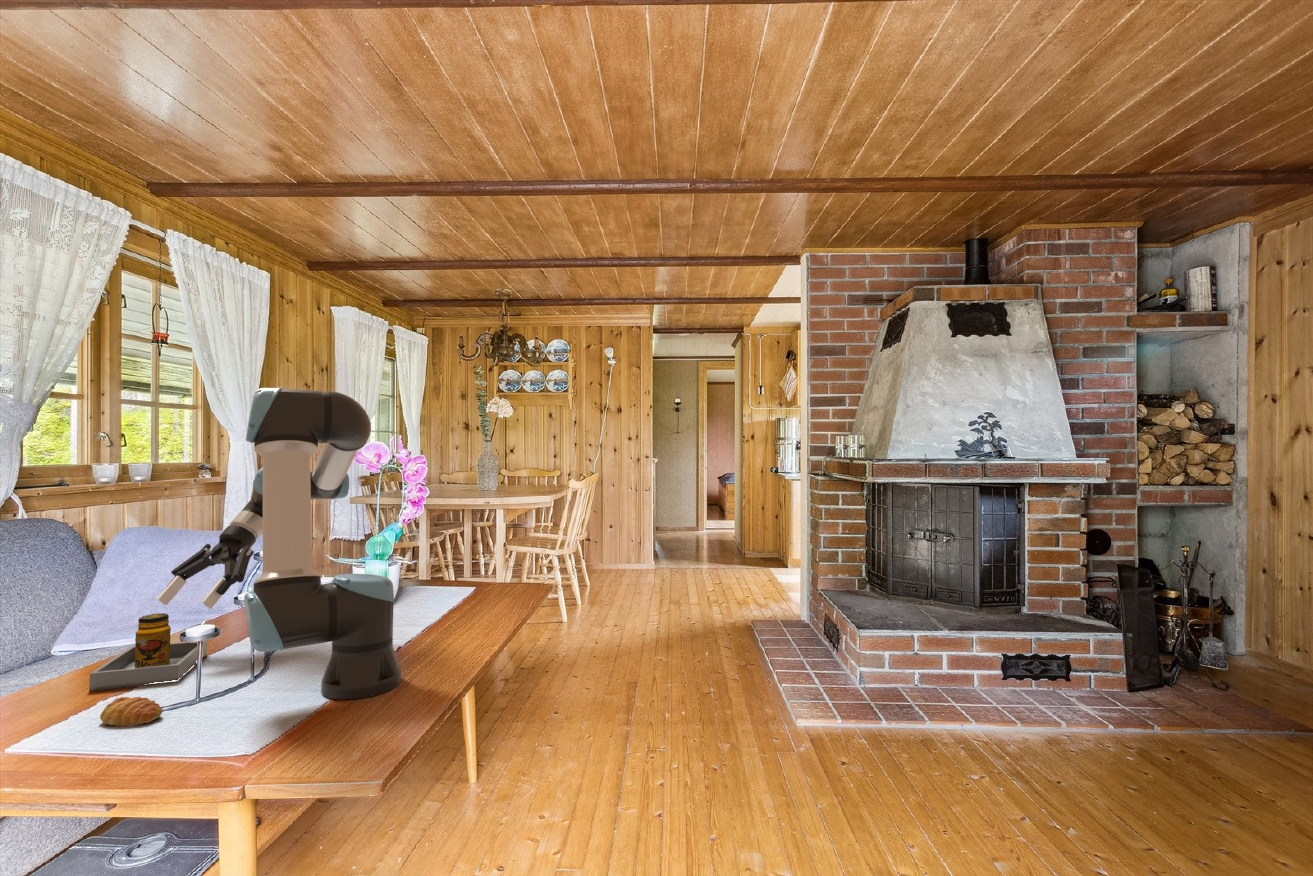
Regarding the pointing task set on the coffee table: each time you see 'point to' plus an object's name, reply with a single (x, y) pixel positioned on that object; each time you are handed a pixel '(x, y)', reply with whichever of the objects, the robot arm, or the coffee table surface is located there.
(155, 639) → the condiment
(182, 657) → the tray
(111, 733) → the coffee table surface
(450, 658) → the coffee table surface
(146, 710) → the pastry
